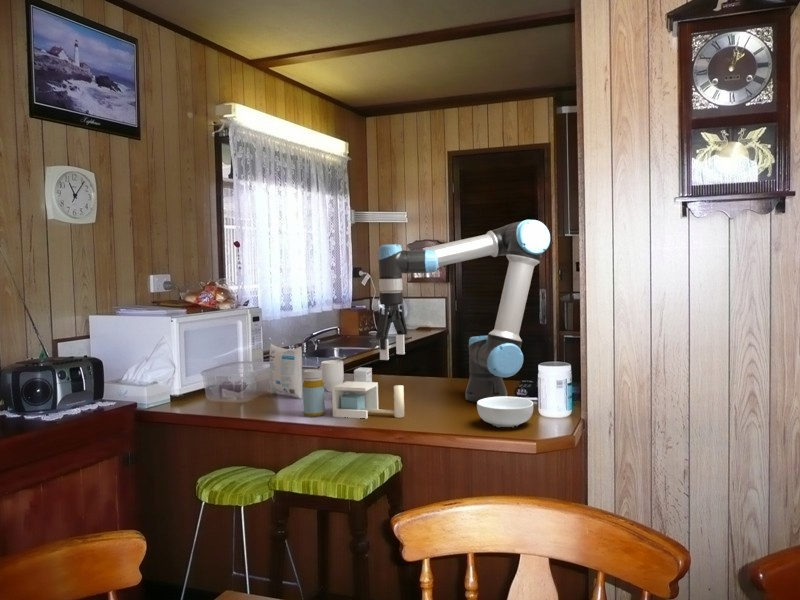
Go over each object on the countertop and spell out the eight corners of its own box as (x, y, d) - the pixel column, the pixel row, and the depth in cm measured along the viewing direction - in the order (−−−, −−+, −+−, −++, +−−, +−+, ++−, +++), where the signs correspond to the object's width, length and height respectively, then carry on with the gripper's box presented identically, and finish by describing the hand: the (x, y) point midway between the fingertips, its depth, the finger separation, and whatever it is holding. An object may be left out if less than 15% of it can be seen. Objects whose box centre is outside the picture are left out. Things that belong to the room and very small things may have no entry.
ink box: (367, 403, 230) (366, 370, 229) (353, 403, 231) (352, 370, 230) (372, 398, 238) (371, 366, 237) (360, 398, 239) (359, 366, 238)
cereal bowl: (466, 425, 193) (465, 402, 193) (499, 415, 205) (498, 394, 204) (512, 435, 181) (511, 410, 181) (544, 423, 193) (544, 400, 192)
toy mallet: (407, 414, 209) (406, 384, 209) (400, 418, 204) (400, 387, 203) (348, 411, 217) (348, 382, 216) (341, 415, 211) (340, 385, 210)
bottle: (314, 411, 218) (313, 368, 218) (329, 414, 214) (327, 369, 213) (299, 415, 213) (297, 371, 212) (313, 418, 208) (312, 372, 208)
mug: (349, 389, 256) (347, 360, 255) (333, 394, 249) (332, 364, 248) (328, 387, 263) (327, 358, 262) (313, 391, 256) (311, 361, 255)
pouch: (292, 401, 237) (290, 347, 236) (264, 394, 251) (262, 344, 250) (309, 397, 243) (307, 345, 242) (281, 391, 256) (279, 342, 255)
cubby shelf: (378, 411, 215) (377, 382, 215) (366, 418, 205) (365, 388, 205) (346, 409, 219) (345, 381, 219) (332, 416, 210) (331, 386, 209)
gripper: (395, 290, 220) (396, 351, 221) (364, 293, 197) (366, 361, 198) (415, 290, 217) (416, 352, 218) (386, 293, 194) (388, 362, 195)
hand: (392, 356), depth 208 cm, fingers open, 13 cm apart
